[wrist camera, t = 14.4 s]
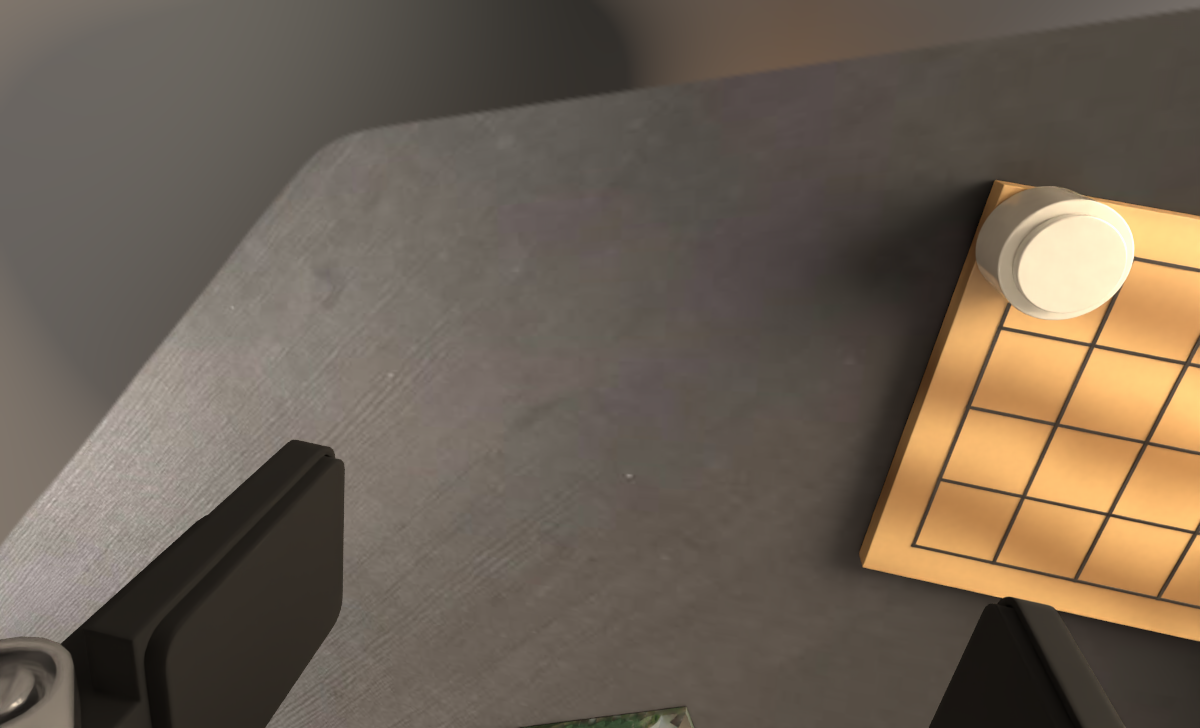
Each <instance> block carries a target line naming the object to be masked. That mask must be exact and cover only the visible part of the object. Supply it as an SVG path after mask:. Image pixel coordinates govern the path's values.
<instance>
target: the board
mask: <svg viewBox="0 0 1200 728" xmlns="http://www.w3.org/2000/svg"><path fill="white" fill-rule="evenodd" d="M1031 188H1035V187H1033V186H1027V185H1021V184H1016V183H1010V182H1004V181H999V180H995V181H994V183H993V186H992V189H991V192H990V194H989V197H988V200H987V203H986V205H985V208H984V211H983V214H982V216H981V219H980V222H979V225H978V227H977V230H976V233H975V236H974V238H973V241H972V244H971V247H970V249H969V252H968V255H967V258H966V260H965V263H964V266H963V269H962V271H961V274H960V277H959V280H958V282H957V285H956V288H955V291H954V293H953V296H952V299H951V302H950V304H949V307H948V310H947V313H946V315H945V318H944V321H943V324H942V326H941V329H940V332H939V335H938V337H937V340H936V343H935V346H934V348H933V351H932V354H931V357H930V359H929V362H928V365H927V368H926V370H925V373H924V376H923V379H922V381H921V384H920V387H919V390H918V392H917V395H916V398H915V401H914V403H913V406H912V409H911V412H910V414H909V417H908V420H907V423H906V425H905V428H904V431H903V434H902V436H901V439H900V442H899V445H898V447H897V450H896V453H895V456H894V458H893V461H892V464H891V467H890V469H889V472H888V475H887V478H886V480H885V483H884V486H883V489H882V491H881V494H880V497H879V500H878V502H877V505H876V508H875V511H874V513H873V516H872V519H871V522H870V524H869V527H868V530H867V533H866V535H865V538H864V541H863V544H862V546H861V549H860V552H859V556H860V559H861V563H862V567H864V568H868V569H873V570H877V571H882V572H887V573H891V574H896V575H900V576H905V577H909V578H914V579H918V580H923V581H927V582H932V583H936V584H941V585H946V586H950V587H955V588H959V589H964V590H968V591H973V592H977V593H982V594H986V595H991V596H995V597H1000V598H1004V597H1008V596H1010V597H1014V598H1019V599H1023V600H1028V601H1032V602H1037V603H1042V604H1046V605H1050V606H1052V607H1054V608H1055V610H1059V611H1064V612H1068V613H1073V614H1077V615H1082V616H1086V617H1091V618H1095V619H1100V620H1104V621H1109V622H1113V623H1118V624H1123V625H1127V626H1132V627H1136V628H1141V629H1145V630H1150V631H1154V632H1159V633H1163V634H1168V635H1172V636H1177V637H1182V638H1186V639H1191V640H1195V641H1200V216H1196V215H1190V214H1185V213H1179V212H1173V211H1168V210H1162V209H1157V208H1151V207H1145V206H1140V205H1134V204H1128V203H1123V202H1117V201H1111V200H1106V199H1100V198H1095V197H1089V196H1086V197H1088V198H1090V199H1093V200H1095V201H1098V202H1100V203H1102V204H1105V205H1107V206H1109V207H1110V208H1112V209H1114V210H1115V211H1116V212H1117V213H1119V214H1120V215H1121V216H1122V218H1123V219H1124V220H1125V221H1126V223H1127V224H1128V226H1129V228H1130V230H1131V233H1132V236H1133V241H1134V258H1133V263H1132V266H1131V269H1130V272H1129V274H1128V276H1127V278H1126V280H1125V282H1124V283H1123V284H1122V286H1121V287H1120V289H1119V290H1118V291H1117V292H1116V293H1115V294H1114V295H1113V296H1112V297H1111V298H1110V299H1109V300H1108V301H1106V302H1105V303H1104V304H1102V305H1101V306H1100V307H1098V308H1096V309H1094V310H1093V311H1091V312H1088V313H1086V314H1084V315H1081V316H1078V317H1075V318H1070V319H1064V320H1044V319H1038V318H1034V317H1031V316H1029V315H1026V314H1024V313H1022V312H1021V311H1019V310H1018V309H1016V308H1015V307H1014V306H1013V305H1011V304H1010V303H1009V302H1008V301H1007V300H1006V299H1005V298H1004V297H1003V296H1001V295H1000V294H999V293H998V292H997V291H996V290H995V289H994V288H993V287H992V286H990V285H989V283H988V282H987V281H986V280H985V279H984V277H983V276H982V274H981V272H980V270H979V268H978V265H977V261H976V243H977V238H978V235H979V232H980V230H981V228H982V226H983V224H984V222H985V221H986V219H987V218H988V216H989V215H990V214H991V213H992V212H993V210H994V209H995V208H996V207H997V206H999V205H1000V204H1001V203H1002V202H1003V201H1005V200H1006V199H1008V198H1010V197H1011V196H1013V195H1015V194H1017V193H1019V192H1022V191H1024V190H1027V189H1031Z"/></svg>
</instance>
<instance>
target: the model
mask: <svg viewBox="0 0 1200 728" xmlns="http://www.w3.org/2000/svg"><path fill="white" fill-rule="evenodd" d="M523 728H694V726H693V724H692V721H691V718H690V716H689V713H688V710H687V708H686V707H680V708H672V709H664V710H657V711H648V712H641V713H633V714H625V715H617V716H609V717H602V718H594V719H586V720H578V721H570V722H562V723H554V724H546V725H538V726H531V727H523Z"/></svg>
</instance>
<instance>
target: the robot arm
mask: <svg viewBox="0 0 1200 728" xmlns="http://www.w3.org/2000/svg"><path fill="white" fill-rule="evenodd" d="M344 474H345V469H344V463H343V461H342V460H340V459H335V454H334V451H333V449H332V448H330V447H327V446H322V445H318V444H313V443H308V442H304V441H299V440H291V441H290V442H288V443H287V444H286V445H285V446H283V447H282V448H281V449H280V450H279V451H278V452H277V453H276V454H275V455H274V456H272V457H271V458H270V459H269V460H268V461H267V462H266V463H265V464H264V465H262V466H261V467H260V468H259V469H258V470H257V471H256V472H255V473H254V474H253V475H251V476H250V477H249V478H248V479H247V480H246V481H245V482H244V483H243V484H241V485H240V486H239V487H238V488H237V489H236V490H235V491H234V492H233V493H232V494H230V495H229V496H228V497H227V498H226V499H225V500H224V501H223V502H222V503H221V504H219V505H218V506H217V507H216V508H215V509H214V510H213V511H212V512H211V513H209V514H208V515H206V516H204V517H203V518H201V519H200V520H198V521H197V522H196V523H195V524H193V525H192V526H191V527H190V528H189V529H188V530H187V531H186V532H185V533H183V534H182V535H181V536H180V537H179V538H178V539H177V540H176V541H175V542H173V543H172V544H171V545H170V546H169V547H168V548H167V549H166V550H165V551H163V552H162V553H161V554H160V555H159V556H158V557H157V558H156V559H155V560H153V561H152V562H151V563H150V564H149V565H148V566H147V567H146V568H145V569H143V570H142V571H141V572H140V573H139V574H138V575H137V576H136V577H135V578H133V579H132V580H131V581H130V582H129V583H128V584H127V585H126V586H125V587H123V588H122V589H121V590H120V591H119V592H118V593H117V594H116V595H115V596H113V597H112V598H111V599H110V600H109V601H108V602H107V603H106V604H105V605H103V606H102V607H101V608H100V609H99V610H98V611H97V612H96V613H95V614H93V615H92V616H91V617H90V618H89V619H88V620H87V621H86V622H85V623H83V624H82V625H81V626H80V627H79V628H78V629H77V630H76V631H75V632H73V633H72V634H71V635H70V636H69V637H68V638H67V639H66V640H65V641H63V642H62V643H61V644H60V643H57V642H54V641H51V640H48V639H45V638H39V637H15V638H8V639H1V640H0V728H265V727H266V725H267V724H268V722H269V721H270V719H271V718H272V717H273V715H274V714H275V712H276V711H277V709H278V708H279V706H280V705H281V703H282V702H283V700H284V699H285V697H286V696H287V694H288V693H289V691H290V690H291V688H292V687H293V685H294V684H295V683H296V681H297V680H298V678H299V677H300V675H301V674H302V672H303V671H304V669H305V668H306V666H307V665H308V663H309V662H310V660H311V659H312V657H313V656H314V654H315V653H316V651H317V650H318V648H319V647H320V646H321V644H322V643H323V641H324V640H325V638H326V637H327V635H328V634H329V632H330V631H331V629H332V628H333V626H334V624H335V623H336V621H337V618H338V616H339V613H340V610H341V606H342V592H343V533H344ZM929 728H1125V726H1124V724H1123V723H1122V721H1121V719H1120V718H1119V716H1118V714H1117V712H1116V711H1115V709H1114V707H1113V706H1112V704H1111V702H1110V700H1109V699H1108V697H1107V695H1106V694H1105V692H1104V690H1103V688H1102V687H1101V685H1100V683H1099V682H1098V680H1097V678H1096V677H1095V675H1094V673H1093V671H1092V670H1091V668H1090V666H1089V665H1088V663H1087V661H1086V659H1085V658H1084V656H1083V654H1082V653H1081V651H1080V649H1079V648H1078V646H1077V644H1076V642H1075V641H1074V639H1073V637H1072V636H1071V634H1070V632H1069V630H1068V629H1067V627H1066V625H1065V624H1064V622H1063V620H1062V618H1061V617H1060V615H1059V613H1058V612H1057V611H1056V610H1055V608H1054V607H1052V606H1050V605H1046V604H1042V603H1037V602H1032V601H1028V600H1023V599H1019V598H1014V597H1010V596H1008V597H1004V598H1003V599H1001V600H1000V601H999V603H998V605H997V604H989V605H987V606H986V607H985V609H984V611H983V612H982V615H981V617H980V619H979V621H978V623H977V625H976V628H975V630H974V632H973V634H972V636H971V638H970V640H969V643H968V645H967V647H966V649H965V651H964V653H963V655H962V658H961V660H960V662H959V664H958V666H957V668H956V671H955V673H954V675H953V677H952V679H951V681H950V683H949V686H948V688H947V690H946V692H945V694H944V696H943V699H942V701H941V703H940V705H939V707H938V709H937V711H936V714H935V716H934V718H933V720H932V722H931V724H930V726H929Z"/></svg>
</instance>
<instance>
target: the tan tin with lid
mask: <svg viewBox="0 0 1200 728" xmlns="http://www.w3.org/2000/svg"><path fill="white" fill-rule="evenodd" d="M1133 258H1134V241H1133V236H1132V233H1131V230H1130V228H1129V226H1128V224H1127V223H1126V221H1125V220H1124V219H1123V218H1122V216H1121V215H1120V214H1119V213H1117V212H1116V211H1115V210H1114V209H1112V208H1110V207H1109V206H1107V205H1105V204H1102V203H1100V202H1098V201H1095V200H1093V199H1090V198H1088V197H1086V196H1083V195H1081V194H1078V193H1076V192H1074V191H1071V190H1069V189H1065V188H1061V187H1054V186H1042V187H1035V188H1031V189H1027V190H1024V191H1022V192H1019V193H1017V194H1015V195H1013V196H1011V197H1010V198H1008V199H1006V200H1005V201H1003V202H1002V203H1001V204H1000V205H999V206H997V207H996V208H995V209H994V210H993V212H992V213H991V214H990V215H989V216H988V218H987V219H986V221H985V222H984V224H983V226H982V228H981V230H980V232H979V235H978V238H977V243H976V261H977V265H978V268H979V270H980V272H981V274H982V276H983V277H984V279H985V280H986V281H987V282H988V283H989V285H990V286H992V287H993V288H994V289H995V290H996V291H997V292H998V293H999V294H1000V295H1001V296H1003V297H1004V298H1005V299H1006V300H1007V301H1008V302H1009V303H1010V304H1011V305H1013V306H1014V307H1015V308H1016V309H1018V310H1019V311H1021V312H1022V313H1024V314H1026V315H1029V316H1031V317H1034V318H1038V319H1044V320H1064V319H1070V318H1075V317H1078V316H1081V315H1084V314H1086V313H1088V312H1091V311H1093V310H1094V309H1096V308H1098V307H1100V306H1101V305H1102V304H1104V303H1105V302H1106V301H1108V300H1109V299H1110V298H1111V297H1112V296H1113V295H1114V294H1115V293H1116V292H1117V291H1118V290H1119V289H1120V287H1121V286H1122V284H1123V283H1124V282H1125V280H1126V278H1127V276H1128V274H1129V272H1130V269H1131V266H1132V263H1133Z"/></svg>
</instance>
